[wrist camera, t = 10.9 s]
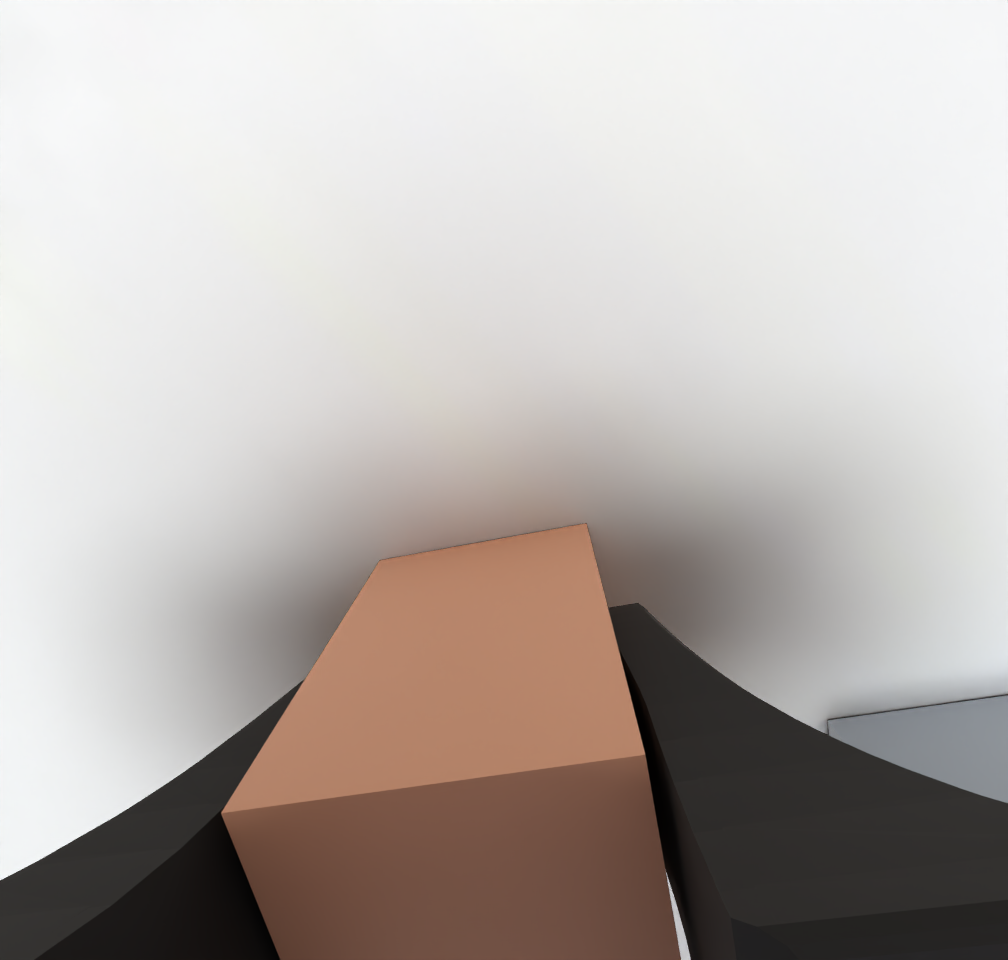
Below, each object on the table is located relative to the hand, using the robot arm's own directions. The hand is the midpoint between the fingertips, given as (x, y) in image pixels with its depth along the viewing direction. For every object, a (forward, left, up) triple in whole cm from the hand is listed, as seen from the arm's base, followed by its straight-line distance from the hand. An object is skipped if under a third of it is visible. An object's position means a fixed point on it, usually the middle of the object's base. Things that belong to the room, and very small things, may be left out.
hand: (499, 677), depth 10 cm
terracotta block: (0, 0, -1) cm, 1 cm away
